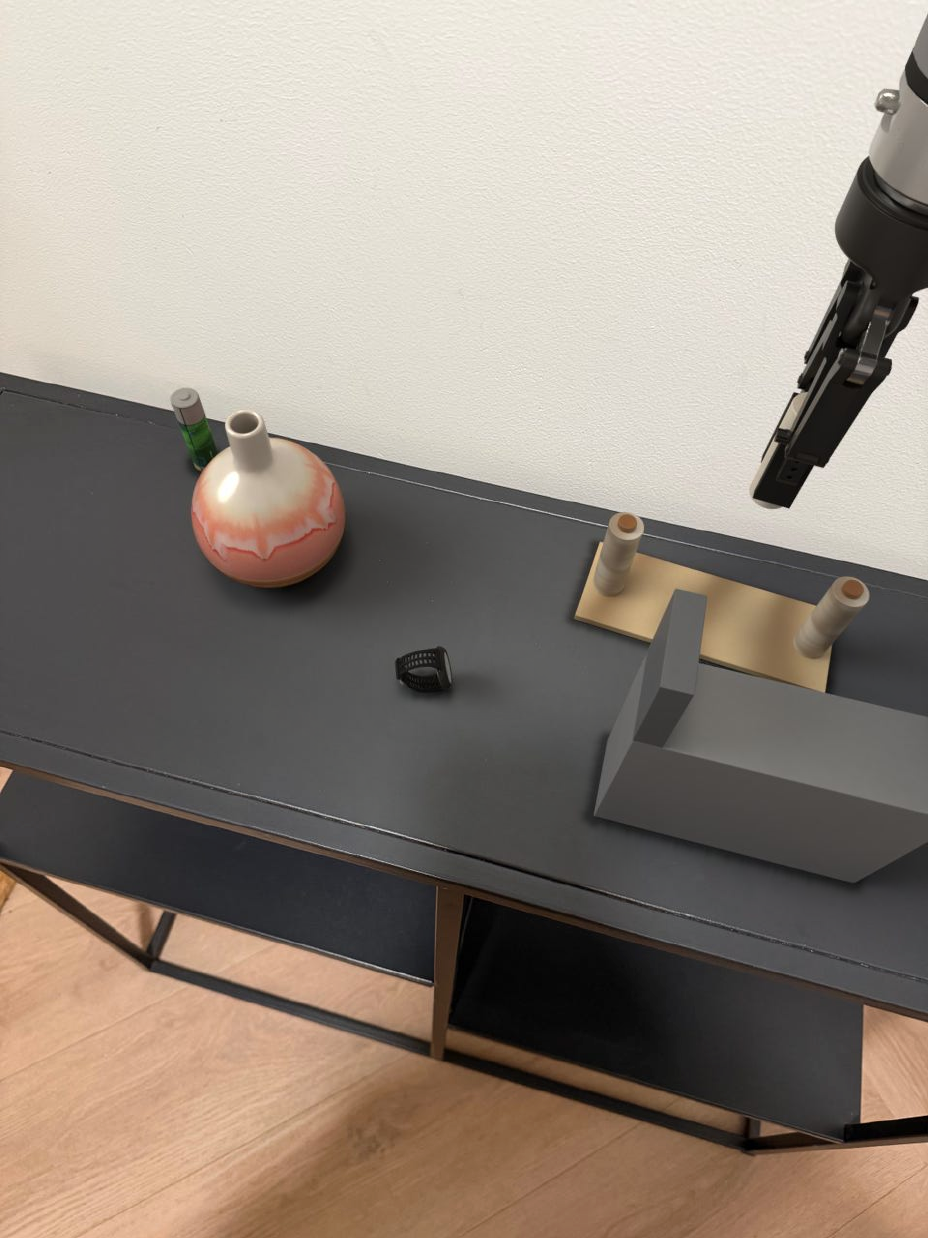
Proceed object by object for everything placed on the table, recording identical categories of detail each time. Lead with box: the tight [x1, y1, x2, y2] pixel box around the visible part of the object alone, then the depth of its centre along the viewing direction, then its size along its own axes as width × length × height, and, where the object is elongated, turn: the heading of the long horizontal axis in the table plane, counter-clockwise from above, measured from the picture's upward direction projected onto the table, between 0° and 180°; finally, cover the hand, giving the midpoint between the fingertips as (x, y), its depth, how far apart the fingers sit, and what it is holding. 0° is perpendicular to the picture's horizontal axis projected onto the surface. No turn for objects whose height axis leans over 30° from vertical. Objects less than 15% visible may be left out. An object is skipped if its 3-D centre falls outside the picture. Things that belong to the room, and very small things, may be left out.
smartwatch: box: [394, 645, 453, 693], centre depth 72 cm, size 4×5×5 cm
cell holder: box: [573, 511, 870, 693], centre depth 74 cm, size 23×9×10 cm, turn 70°
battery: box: [169, 387, 219, 473], centre depth 83 cm, size 3×3×10 cm
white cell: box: [748, 392, 808, 510], centre depth 59 cm, size 3×3×10 cm
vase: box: [190, 409, 347, 589], centre depth 74 cm, size 14×14×18 cm
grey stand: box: [593, 589, 928, 884], centre depth 59 cm, size 21×7×24 cm, turn 75°
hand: (775, 481), depth 62 cm, fingers closed on white cell, 3 cm apart
